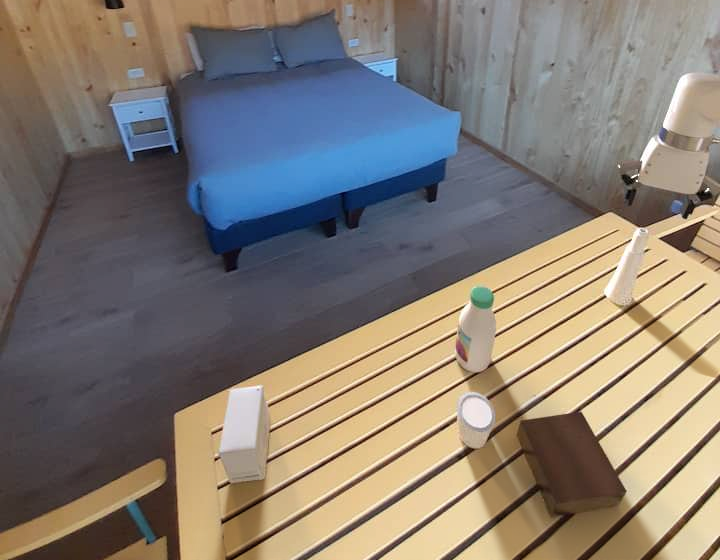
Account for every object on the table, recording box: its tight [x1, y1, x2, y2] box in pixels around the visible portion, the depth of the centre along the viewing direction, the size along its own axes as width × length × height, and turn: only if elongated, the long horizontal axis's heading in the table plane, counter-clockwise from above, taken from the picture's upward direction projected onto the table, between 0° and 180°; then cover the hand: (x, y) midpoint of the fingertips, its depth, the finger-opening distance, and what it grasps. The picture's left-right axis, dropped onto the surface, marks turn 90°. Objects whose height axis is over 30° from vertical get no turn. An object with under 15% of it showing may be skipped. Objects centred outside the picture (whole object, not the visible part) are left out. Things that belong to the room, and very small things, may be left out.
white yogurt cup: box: [456, 391, 496, 450], centre depth 75 cm, size 7×7×7 cm
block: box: [516, 411, 627, 518], centre depth 70 cm, size 12×12×5 cm
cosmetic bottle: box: [604, 227, 650, 307], centre depth 98 cm, size 6×6×22 cm
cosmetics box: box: [218, 384, 271, 484], centre depth 72 cm, size 10×6×10 cm, turn 5°
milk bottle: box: [454, 285, 497, 373], centre depth 85 cm, size 8×8×20 cm
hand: (655, 208), depth 84 cm, fingers open, 9 cm apart
